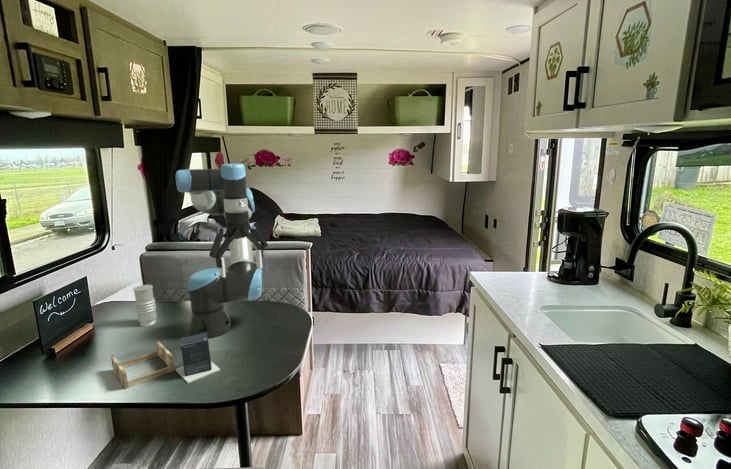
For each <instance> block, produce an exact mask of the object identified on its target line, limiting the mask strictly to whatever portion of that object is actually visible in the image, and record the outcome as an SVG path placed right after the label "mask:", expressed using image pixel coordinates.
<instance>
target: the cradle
mask: <svg viewBox="0 0 731 469" xmlns="http://www.w3.org/2000/svg"><path fill="white" fill-rule="evenodd" d="M155 346H156V350H155V351H153V352H150V353H146V354H144V355H140V356H137V357H134V358H132V359H128V360H126V361H122V362H119V360H118V359H117V357H116V356H115V355H114V354H113V355H110V358H111V365H112V370H114V371H113V373H114V374H115V373H116V374H115V375H116V377H117V378H118V380H119V381H120V383H121V384H122V386H123V387H124V389H126V390H127V389H129V388H132V387H135V386H136V385H139V384H142V383H144V382H147V381H149V380H151V379H155V378H158V377H160V376H162V375H166V374H168V373H171V372H173V371H176V367H175V365H176V364H175V359H174V355H173V353H172V352H170V351H169V350H168V349H167V348H166V347H165V346H164V345H163V344H162V343H161V342H160V340H156V341H155ZM155 357H159V358H160V359H161V360H162V361H163V362H164V363H165V365H166V367H164V368H161V369H159V370H155V371H153V372H150V373H148V374H144V375H142V376H138V377H136V378H134V379H130V380H129V381H128V375H127V371H126V370H125V369H124V368H127V367H130V366H133V365H135V364H138V363H141V362H144V361H147V360H150V359H153V358H155Z"/></svg>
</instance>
